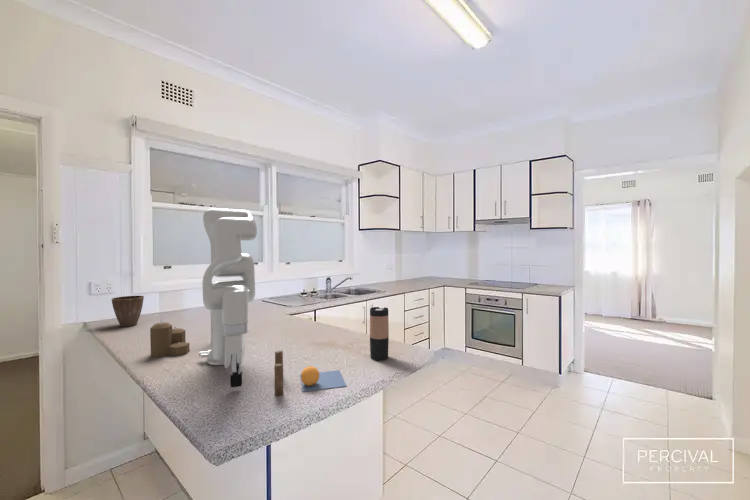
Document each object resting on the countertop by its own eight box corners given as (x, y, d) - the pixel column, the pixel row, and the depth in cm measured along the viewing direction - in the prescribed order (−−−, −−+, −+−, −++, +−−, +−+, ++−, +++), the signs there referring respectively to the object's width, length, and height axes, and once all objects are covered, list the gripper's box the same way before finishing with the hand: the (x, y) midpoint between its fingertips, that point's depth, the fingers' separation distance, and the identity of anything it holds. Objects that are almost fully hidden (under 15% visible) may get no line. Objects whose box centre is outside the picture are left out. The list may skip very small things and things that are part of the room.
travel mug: (375, 362, 130) (375, 311, 130) (366, 356, 137) (366, 307, 137) (392, 359, 134) (392, 309, 133) (383, 353, 141) (382, 306, 140)
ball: (305, 368, 106) (322, 376, 107) (306, 360, 112) (322, 367, 113) (296, 385, 106) (313, 392, 107) (298, 375, 112) (314, 382, 113)
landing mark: (302, 391, 105) (302, 391, 105) (299, 375, 118) (299, 374, 118) (346, 386, 108) (346, 385, 108) (339, 370, 122) (339, 370, 122)
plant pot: (104, 328, 185) (104, 299, 185) (128, 321, 200) (128, 295, 200) (128, 329, 183) (127, 300, 182) (150, 322, 197) (150, 295, 197)
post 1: (275, 379, 114) (274, 353, 114) (275, 376, 117) (275, 351, 116) (283, 378, 115) (282, 352, 115) (283, 375, 117) (282, 350, 117)
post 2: (274, 396, 101) (274, 367, 101) (274, 392, 104) (274, 364, 104) (283, 395, 102) (283, 366, 102) (283, 391, 105) (283, 363, 104)
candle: (153, 360, 134) (153, 323, 133) (148, 352, 144) (147, 317, 143) (191, 353, 143) (191, 318, 142) (183, 345, 153) (183, 313, 152)
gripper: (226, 323, 112) (227, 378, 112) (218, 335, 97) (219, 397, 98) (250, 322, 114) (250, 375, 114) (246, 333, 99) (246, 394, 100)
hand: (236, 385), depth 106 cm, fingers closed
